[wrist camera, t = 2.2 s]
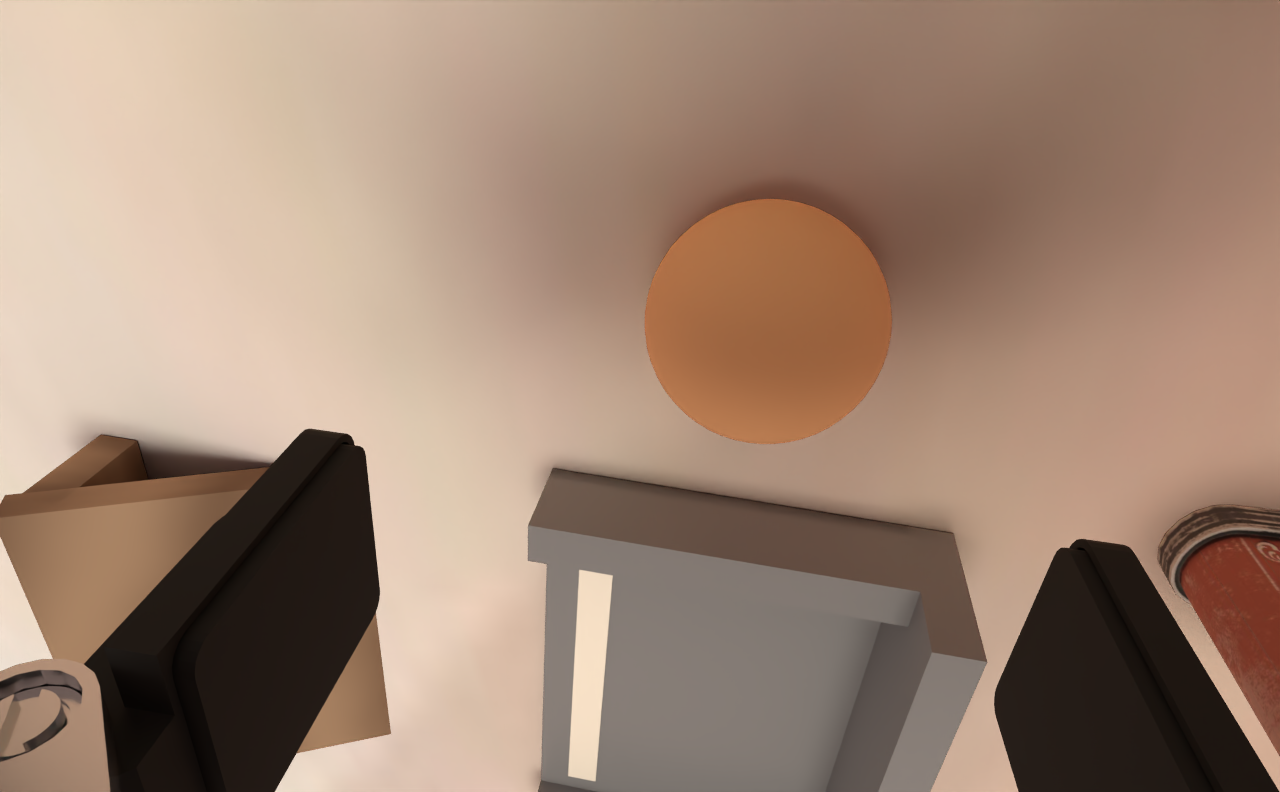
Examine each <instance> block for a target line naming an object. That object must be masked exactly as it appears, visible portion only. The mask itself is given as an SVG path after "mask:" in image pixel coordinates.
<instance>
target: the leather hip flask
mask: <svg viewBox="0 0 1280 792" xmlns="http://www.w3.org/2000/svg"><path fill="white" fill-rule="evenodd" d="M1158 561H1159V564H1160V566H1161V568H1162V570H1163V572H1164V574H1165V576H1166V577H1167V579H1168V581H1169V583H1170V584H1171V586H1172V588H1173V590H1174V592H1175V593H1176V595H1178V596H1179V597H1180V598H1182V599H1183V600H1184V601H1186V602H1187V603H1189V604H1191V605H1192V606H1193V608H1194V610H1195V611H1196V613H1197V615H1198V616H1199V618H1200V620H1201V622H1202V623H1203V625H1204V627H1205V629H1206V630H1207V632H1208V634H1209V635H1210V637H1211V639H1212V641H1213V642H1214V644H1215V646H1216V647H1217V649H1218V651H1219V653H1220V654H1221V656H1222V658H1223V659H1224V661H1225V663H1226V665H1227V666H1228V668H1229V670H1230V672H1231V673H1232V675H1233V677H1234V678H1235V680H1236V682H1237V684H1238V685H1239V687H1240V689H1241V690H1242V692H1243V694H1244V696H1245V697H1246V699H1247V701H1248V703H1249V704H1250V706H1251V708H1252V709H1253V711H1254V713H1255V715H1256V716H1257V718H1258V720H1259V721H1260V723H1261V725H1262V727H1263V728H1264V730H1265V732H1266V733H1267V735H1268V737H1269V739H1270V740H1271V742H1272V744H1273V746H1274V747H1275V749H1276V751H1277V752H1278V754H1279V756H1280V510H1272V509H1263V508H1255V507H1246V506H1238V505H1214V506H1211V507H1207V508H1204V509H1200V510H1197V511H1195V512H1193V513H1191V514H1189V515H1188V516H1186V517H1184V518H1182V519H1181V520H1179V521H1178V522H1177V523H1176V524H1175V525H1174V526H1173V527H1172V528H1171V529H1170V530H1169V531H1167V532H1166V534H1165V536H1164V538H1163V540H1162V541H1161V543H1160V545H1159V550H1158Z"/></svg>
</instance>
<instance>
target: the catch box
mask: <svg viewBox="0 0 1280 792" xmlns="http://www.w3.org/2000/svg"><path fill="white" fill-rule="evenodd" d="M528 561H532V562H538V563H544V564H547V579H546V616H545V654H544V692H543V730H542V768H541V783H540V786H539V790H538V792H930V791H931V789H932V787H933V784H934V782H935V780H936V777H937V775H938V773H939V771H940V768H941V766H942V764H943V762H944V759H945V757H946V755H947V752H948V750H949V748H950V746H951V743H952V741H953V739H954V737H955V734H956V732H957V730H958V727H959V725H960V723H961V721H962V718H963V716H964V714H965V712H966V709H967V707H968V705H969V702H970V700H971V698H972V696H973V693H974V691H975V689H976V687H977V684H978V682H979V680H980V677H981V675H982V673H983V671H984V668H985V666H986V664H987V659H986V655H985V652H984V648H983V644H982V640H981V636H980V633H979V629H978V625H977V621H976V617H975V614H974V610H973V606H972V602H971V598H970V594H969V591H968V587H967V583H966V579H965V575H964V572H963V568H962V564H961V560H960V556H959V552H958V549H957V545H956V541H955V537H954V534H952V533H946V532H940V531H934V530H928V529H922V528H915V527H909V526H903V525H897V524H891V523H885V522H879V521H872V520H866V519H860V518H854V517H848V516H842V515H835V514H829V513H823V512H817V511H811V510H805V509H798V508H792V507H786V506H780V505H774V504H768V503H762V502H755V501H749V500H743V499H737V498H731V497H725V496H718V495H712V494H706V493H700V492H694V491H688V490H682V489H675V488H669V487H663V486H657V485H651V484H645V483H638V482H632V481H626V480H620V479H614V478H608V477H601V476H595V475H589V474H583V473H577V472H571V471H565V470H558V469H552V472H551V474H550V476H549V479H548V481H547V483H546V485H545V488H544V490H543V492H542V495H541V497H540V499H539V502H538V504H537V506H536V509H535V511H534V513H533V515H532V518H531V520H530V522H529V525H528Z"/></svg>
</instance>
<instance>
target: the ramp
mask: <svg viewBox="0 0 1280 792" xmlns="http://www.w3.org/2000/svg"><path fill="white" fill-rule="evenodd" d="M268 468H269V467H265V468H255V469H246V470H237V471H227V472H218V473H209V474H199V475H190V476H181V477H171V478H162V479H153V480H148V477H147V474H146V470H145V467H144V463H143V460H142V456H141V453H140V450H139V446H138V443H137V441H135V440H129V439H123V438H117V437H111V436H105V435H100V436H98V437H97V438H96V439H94V440H93V441H92V442H90V443H89V444H88V445H86V446H85V447H84V448H82V449H81V450H80V451H78V452H77V453H76V454H74V455H73V456H72V457H70V458H69V459H68V460H66V461H65V462H64V463H62V464H61V465H60V466H58V467H57V468H56V469H54V470H53V471H52V472H50V473H49V474H48V475H46V476H45V477H44V478H42V479H41V480H40V481H38V482H37V483H36V484H34V485H33V486H32V487H30V488H29V489H28V490H26V491H25V492H24V493H22V494H13V495H5V497H4V498H3V500H2V502H1V504H0V537H1V539H2V541H3V544H4V546H5V548H6V551H7V553H8V555H9V558H10V560H11V562H12V565H13V567H14V569H15V572H16V574H17V576H18V578H19V581H20V583H21V585H22V588H23V590H24V592H25V595H26V597H27V599H28V602H29V604H30V606H31V609H32V611H33V613H34V616H35V618H36V620H37V623H38V625H39V627H40V630H41V632H42V634H43V637H44V639H45V641H46V643H47V646H48V648H49V650H50V653H51V655H52V657H53V659H67V660H71V661H75V662H79V663H82V664H84V663H85V662H86V661H87V660H88V659H89V658H90V657H91V656H92V654H93V653H94V652H95V651H96V650H97V649H98V648H99V647H100V646H101V645H102V644H103V643H104V642H105V640H106V639H107V638H108V637H109V636H110V635H111V634H112V633H113V632H114V631H115V630H116V629H117V628H118V627H119V625H120V624H121V623H122V622H123V621H124V620H125V619H126V618H127V617H128V616H129V615H130V614H131V613H132V611H133V610H134V609H135V608H136V607H137V606H138V605H139V604H140V603H141V602H142V601H143V600H144V599H145V597H146V596H147V595H148V594H149V593H150V592H151V591H152V590H153V589H154V588H155V587H156V586H157V585H158V583H159V582H160V581H161V580H162V579H163V578H164V577H165V576H166V575H167V574H168V573H169V572H170V571H171V569H172V568H173V567H174V566H175V565H176V564H177V563H178V562H179V561H180V560H181V559H182V558H183V557H184V556H185V554H186V553H187V552H188V551H189V550H190V549H191V548H192V547H193V546H194V545H195V544H196V543H197V542H198V540H199V539H200V538H201V537H202V536H203V535H204V534H205V533H206V532H207V531H208V530H209V529H210V528H211V526H212V525H213V524H214V523H216V522H217V521H218V520H219V519H220V518H222V517H223V516H225V515H226V514H227V513H228V511H229V510H230V509H231V508H232V507H233V506H234V505H235V504H236V503H237V502H238V501H239V500H240V499H241V497H242V496H243V495H244V494H245V493H246V492H247V491H248V490H249V489H250V488H251V487H252V486H253V484H254V483H255V482H256V481H257V480H258V479H259V478H260V477H261V476H262V475H263V474H264V473H265V471H266V470H267V469H268ZM388 734H391V731H390V723H389V715H388V707H387V699H386V691H385V683H384V675H383V667H382V659H381V651H380V643H379V635H378V627H377V619H376V613H375V615H374V617H373V619H372V621H371V623H370V624H369V626H368V628H367V630H366V631H365V633H364V635H363V637H362V639H361V640H360V642H359V644H358V646H357V647H356V649H355V651H354V653H353V654H352V656H351V658H350V660H349V661H348V663H347V665H346V667H345V668H344V670H343V672H342V674H341V676H340V677H339V679H338V681H337V683H336V684H335V686H334V688H333V690H332V691H331V693H330V695H329V697H328V698H327V700H326V702H325V704H324V705H323V707H322V709H321V711H320V713H319V714H318V716H317V718H316V720H315V721H314V723H313V725H312V727H311V728H310V730H309V732H308V734H307V735H306V737H305V739H304V741H303V743H302V744H301V746H300V748H299V750H298V751H297V753H300V752H305V751H310V750H315V749H320V748H324V747H329V746H334V745H339V744H344V743H349V742H354V741H359V740H364V739H368V738H373V737H378V736H383V735H388Z"/></svg>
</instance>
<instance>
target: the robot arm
mask: <svg viewBox="0 0 1280 792" xmlns="http://www.w3.org/2000/svg"><path fill="white" fill-rule="evenodd" d="M379 596H380V587H379V578H378V568H377V559H376V549H375V540H374V530H373V521H372V511H371V502H370V492H369V483H368V473H367V464H366V455H365V451H364V449H363V448H362V447H360V446H355V445H354V441H353V439H352V437H351V436H350V435H348V434H344V433H337V432H330V431H323V430H316V429H306V430H304V431H303V432H302V433H301V434H300V435H299V436H298V437H297V438H296V439H295V440H294V441H293V442H292V443H291V444H290V445H289V447H288V448H287V449H286V450H285V451H284V452H283V453H282V454H281V455H280V456H279V457H278V458H277V460H276V461H275V462H274V463H273V464H272V465H271V466H270V467H269V468H268V469H267V470H266V471H265V473H264V474H263V475H262V476H261V477H260V478H259V479H258V480H257V481H256V482H255V483H254V484H253V486H252V487H251V488H250V489H249V490H248V491H247V492H246V493H245V494H244V495H243V496H242V497H241V499H240V500H239V501H238V502H237V503H236V504H235V505H234V506H233V507H232V508H231V509H230V510H229V511H228V513H227V514H226V515H225V516H223V517H222V518H220V519H219V520H218V521H217V522H216V523H214V524H213V525H212V526H211V528H210V529H209V530H208V531H207V532H206V533H205V534H204V535H203V536H202V537H201V538H200V539H199V540H198V542H197V543H196V544H195V545H194V546H193V547H192V548H191V549H190V550H189V551H188V552H187V553H186V554H185V556H184V557H183V558H182V559H181V560H180V561H179V562H178V563H177V564H176V565H175V566H174V567H173V568H172V569H171V571H170V572H169V573H168V574H167V575H166V576H165V577H164V578H163V579H162V580H161V581H160V582H159V583H158V585H157V586H156V587H155V588H154V589H153V590H152V591H151V592H150V593H149V594H148V595H147V596H146V597H145V599H144V600H143V601H142V602H141V603H140V604H139V605H138V606H137V607H136V608H135V609H134V610H133V611H132V613H131V614H130V615H129V616H128V617H127V618H126V619H125V620H124V621H123V622H122V623H121V624H120V625H119V627H118V628H117V629H116V630H115V631H114V632H113V633H112V634H111V635H110V636H109V637H108V638H107V639H106V640H105V642H104V643H103V644H102V645H101V646H100V647H99V648H98V649H97V650H96V651H95V652H94V653H93V654H92V656H91V657H90V658H89V659H88V660H87V661H86V662H85V663H84V664H82V663H79V662H75V661H71V660H67V659H41V660H36V661H32V662H27V663H22V664H18V665H15V666H12V667H10V668H7V669H5V670H2V671H0V792H275V790H276V788H277V787H278V785H279V783H280V781H281V780H282V778H283V776H284V774H285V772H286V771H287V769H288V767H289V765H290V764H291V762H292V760H293V758H294V757H295V755H296V753H297V751H298V750H299V748H300V746H301V744H302V743H303V741H304V739H305V737H306V735H307V734H308V732H309V730H310V728H311V727H312V725H313V723H314V721H315V720H316V718H317V716H318V714H319V713H320V711H321V709H322V707H323V705H324V704H325V702H326V700H327V698H328V697H329V695H330V693H331V691H332V690H333V688H334V686H335V684H336V683H337V681H338V679H339V677H340V676H341V674H342V672H343V670H344V668H345V667H346V665H347V663H348V661H349V660H350V658H351V656H352V654H353V653H354V651H355V649H356V647H357V646H358V644H359V642H360V640H361V639H362V637H363V635H364V633H365V631H366V630H367V628H368V626H369V624H370V623H371V621H372V619H373V617H374V615H375V613H376V610H377V607H378V603H379ZM994 707H995V714H996V718H997V722H998V725H999V728H1000V731H1001V735H1002V738H1003V741H1004V745H1005V748H1006V751H1007V755H1008V758H1009V761H1010V764H1011V768H1012V771H1013V774H1014V778H1015V781H1016V784H1017V788H1018V791H1019V792H1279V790H1278V789H1277V787H1276V785H1275V784H1274V782H1273V780H1272V779H1271V777H1270V776H1269V774H1268V772H1267V771H1266V769H1265V767H1264V766H1263V764H1262V762H1261V761H1260V759H1259V757H1258V756H1257V754H1256V753H1255V751H1254V749H1253V748H1252V746H1251V744H1250V743H1249V741H1248V739H1247V738H1246V736H1245V734H1244V733H1243V731H1242V730H1241V728H1240V726H1239V725H1238V723H1237V721H1236V720H1235V718H1234V716H1233V715H1232V713H1231V711H1230V710H1229V708H1228V706H1227V705H1226V703H1225V702H1224V700H1223V698H1222V697H1221V695H1220V693H1219V692H1218V690H1217V688H1216V687H1215V685H1214V683H1213V682H1212V680H1211V679H1210V677H1209V675H1208V674H1207V672H1206V670H1205V669H1204V667H1203V665H1202V664H1201V662H1200V660H1199V659H1198V657H1197V655H1196V654H1195V652H1194V651H1193V649H1192V647H1191V646H1190V644H1189V642H1188V641H1187V639H1186V637H1185V636H1184V634H1183V632H1182V631H1181V629H1180V628H1179V626H1178V624H1177V623H1176V621H1175V619H1174V618H1173V616H1172V614H1171V613H1170V611H1169V609H1168V608H1167V606H1166V604H1165V603H1164V601H1163V600H1162V598H1161V596H1160V595H1159V593H1158V591H1157V590H1156V588H1155V586H1154V585H1153V583H1152V581H1151V580H1150V578H1149V577H1148V575H1147V573H1146V572H1145V570H1144V568H1143V567H1142V565H1141V563H1140V562H1139V560H1138V558H1137V557H1136V555H1135V553H1134V552H1133V551H1132V550H1131V549H1130V547H1127V546H1125V545H1121V544H1114V543H1107V542H1100V541H1093V540H1086V539H1079V540H1076V541H1075V542H1074V543H1072V545H1071V546H1070V548H1060V549H1059V550H1058V551H1057V552H1056V554H1055V556H1054V558H1053V560H1052V562H1051V565H1050V567H1049V569H1048V571H1047V574H1046V576H1045V578H1044V581H1043V583H1042V585H1041V587H1040V590H1039V592H1038V594H1037V596H1036V599H1035V601H1034V603H1033V605H1032V608H1031V610H1030V612H1029V615H1028V617H1027V619H1026V621H1025V624H1024V626H1023V628H1022V630H1021V633H1020V635H1019V637H1018V639H1017V642H1016V644H1015V646H1014V649H1013V651H1012V653H1011V655H1010V658H1009V660H1008V662H1007V664H1006V667H1005V669H1004V671H1003V673H1002V676H1001V678H1000V680H999V683H998V685H997V688H996V691H995V698H994Z"/></svg>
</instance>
